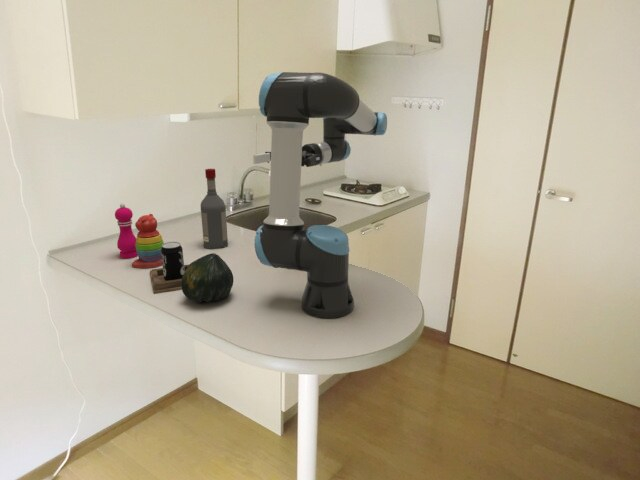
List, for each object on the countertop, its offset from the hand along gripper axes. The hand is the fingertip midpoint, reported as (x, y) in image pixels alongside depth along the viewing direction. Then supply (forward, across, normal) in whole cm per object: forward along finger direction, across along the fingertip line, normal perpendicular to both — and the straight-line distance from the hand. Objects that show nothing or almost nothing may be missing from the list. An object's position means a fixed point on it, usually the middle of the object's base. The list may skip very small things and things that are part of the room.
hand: (268, 162), depth 151 cm
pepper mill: (+24, +53, -38) cm, 69 cm away
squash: (+24, +1, -38) cm, 45 cm away
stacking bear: (+22, +40, -38) cm, 59 cm away
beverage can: (+25, +19, -37) cm, 49 cm away
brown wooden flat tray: (+23, +20, -38) cm, 49 cm away
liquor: (-5, +39, -38) cm, 55 cm away
